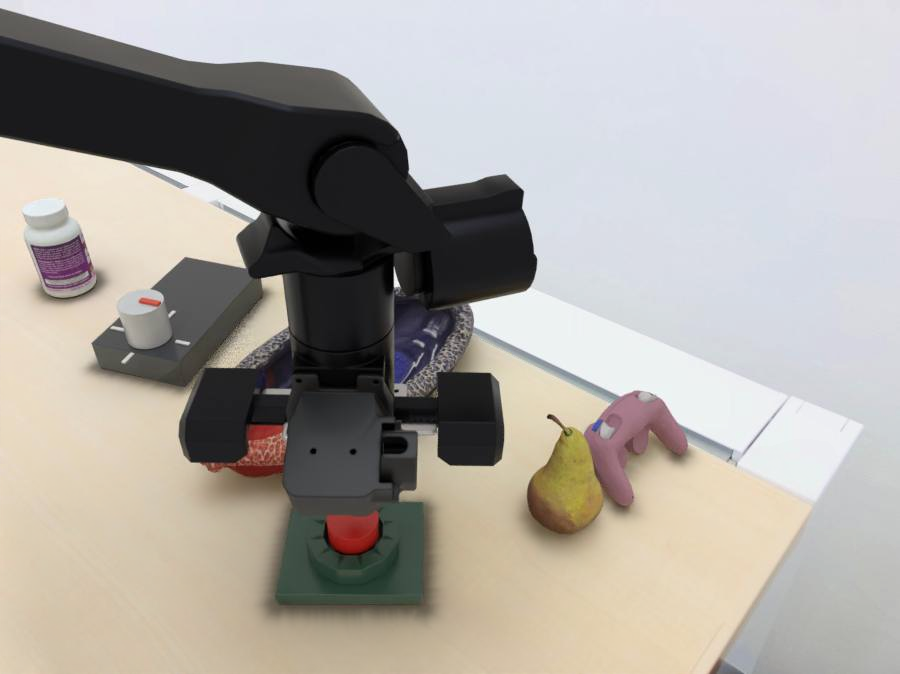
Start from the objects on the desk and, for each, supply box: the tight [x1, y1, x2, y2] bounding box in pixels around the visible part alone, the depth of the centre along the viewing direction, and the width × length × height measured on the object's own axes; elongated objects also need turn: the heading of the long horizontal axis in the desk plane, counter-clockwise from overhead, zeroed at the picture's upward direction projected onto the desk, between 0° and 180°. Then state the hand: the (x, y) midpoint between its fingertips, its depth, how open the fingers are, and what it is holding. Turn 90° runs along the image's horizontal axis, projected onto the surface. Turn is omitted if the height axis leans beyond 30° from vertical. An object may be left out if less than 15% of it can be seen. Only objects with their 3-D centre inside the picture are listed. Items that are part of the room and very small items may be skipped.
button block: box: [275, 501, 424, 605], centre depth 50 cm, size 10×8×3 cm
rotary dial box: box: [91, 256, 264, 387], centre depth 69 cm, size 18×9×3 cm, turn 166°
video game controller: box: [583, 389, 689, 507], centre depth 58 cm, size 10×5×7 cm, turn 135°
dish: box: [200, 286, 475, 479], centre depth 63 cm, size 16×31×5 cm, turn 138°
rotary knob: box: [116, 288, 172, 349], centre depth 64 cm, size 4×4×4 cm
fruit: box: [526, 413, 604, 536], centre depth 51 cm, size 6×6×12 cm
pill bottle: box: [21, 197, 97, 299], centre depth 73 cm, size 5×5×10 cm
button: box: [327, 510, 379, 555], centre depth 49 cm, size 4×4×2 cm
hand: (353, 501), depth 47 cm, fingers closed
